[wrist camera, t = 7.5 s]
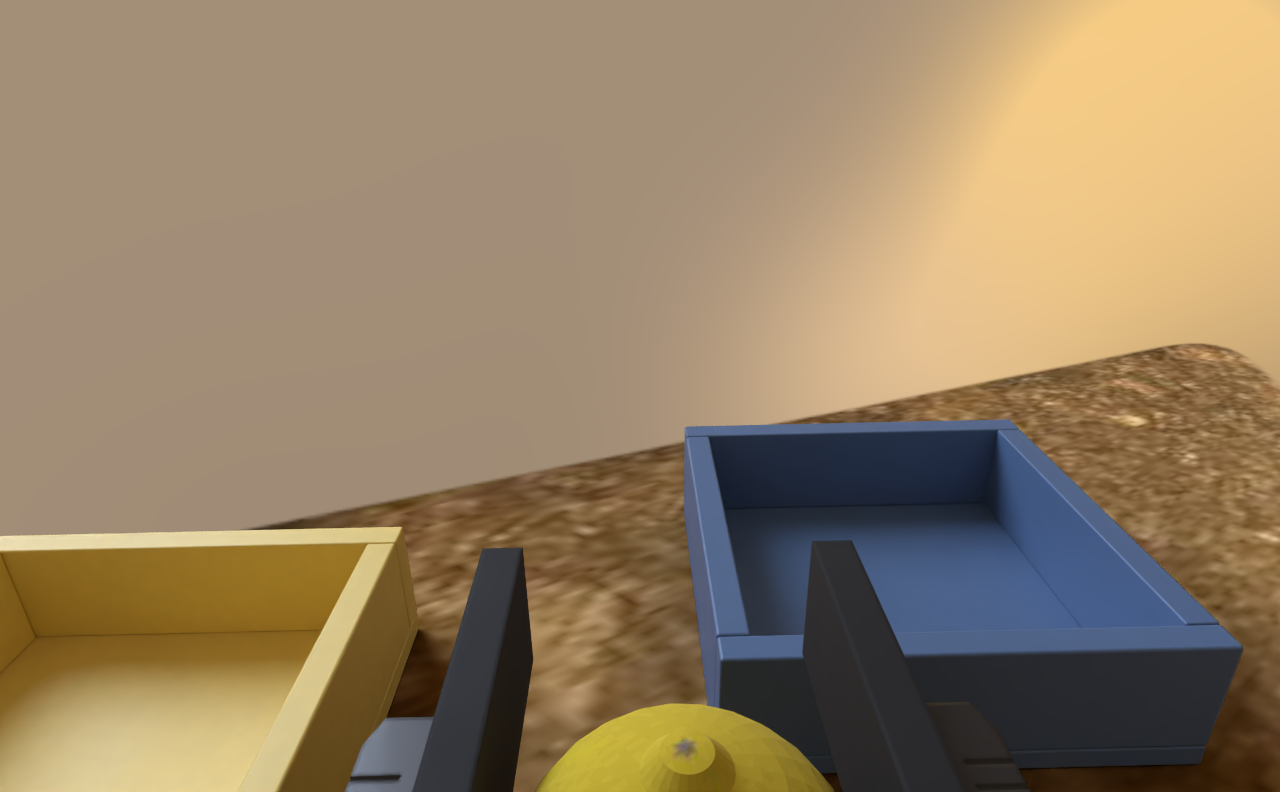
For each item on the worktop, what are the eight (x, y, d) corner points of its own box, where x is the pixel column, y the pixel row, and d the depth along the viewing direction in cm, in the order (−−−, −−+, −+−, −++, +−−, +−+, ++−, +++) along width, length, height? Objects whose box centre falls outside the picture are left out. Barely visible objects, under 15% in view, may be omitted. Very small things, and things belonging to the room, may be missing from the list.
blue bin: (1201, 765, 19) (1246, 647, 17) (716, 777, 18) (719, 660, 17) (992, 505, 29) (1009, 419, 28) (684, 512, 29) (684, 426, 28)
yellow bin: (250, 1098, 13) (196, 964, 11) (-451, 1117, 13) (-595, 986, 11) (419, 626, 24) (403, 526, 22) (35, 635, 23) (-7, 535, 22)
